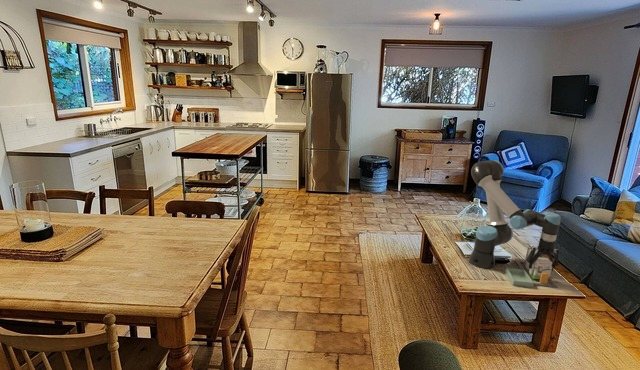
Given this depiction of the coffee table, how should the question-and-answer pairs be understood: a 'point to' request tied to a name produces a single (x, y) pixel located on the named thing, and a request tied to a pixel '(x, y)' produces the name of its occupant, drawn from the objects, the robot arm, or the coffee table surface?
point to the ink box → (541, 267)
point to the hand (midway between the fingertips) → (539, 274)
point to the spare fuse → (527, 257)
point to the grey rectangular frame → (543, 278)
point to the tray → (519, 277)
